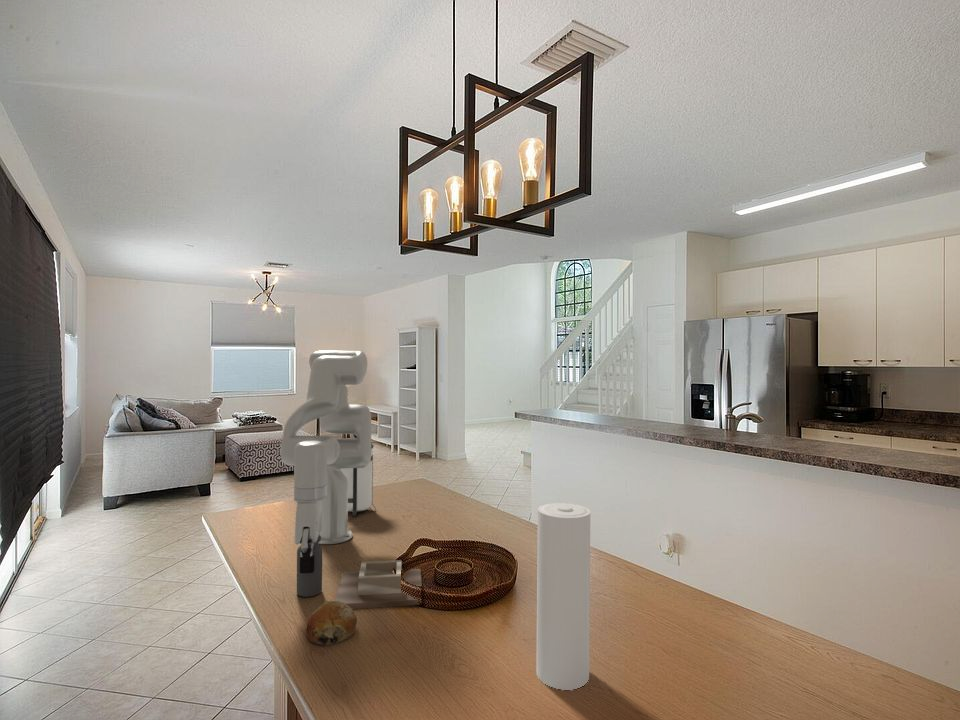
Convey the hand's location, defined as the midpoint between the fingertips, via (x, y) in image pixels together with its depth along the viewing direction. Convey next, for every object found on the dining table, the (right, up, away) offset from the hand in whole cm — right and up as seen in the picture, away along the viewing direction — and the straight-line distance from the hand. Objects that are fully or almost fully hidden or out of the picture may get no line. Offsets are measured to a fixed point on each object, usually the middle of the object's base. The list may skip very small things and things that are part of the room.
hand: (309, 566), depth 124 cm
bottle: (0, -6, 0) cm, 6 cm away
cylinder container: (+56, -7, -32) cm, 65 cm away
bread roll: (+11, -7, -18) cm, 22 cm away
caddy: (+17, -7, +2) cm, 18 cm away
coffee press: (-6, -7, +67) cm, 68 cm away
